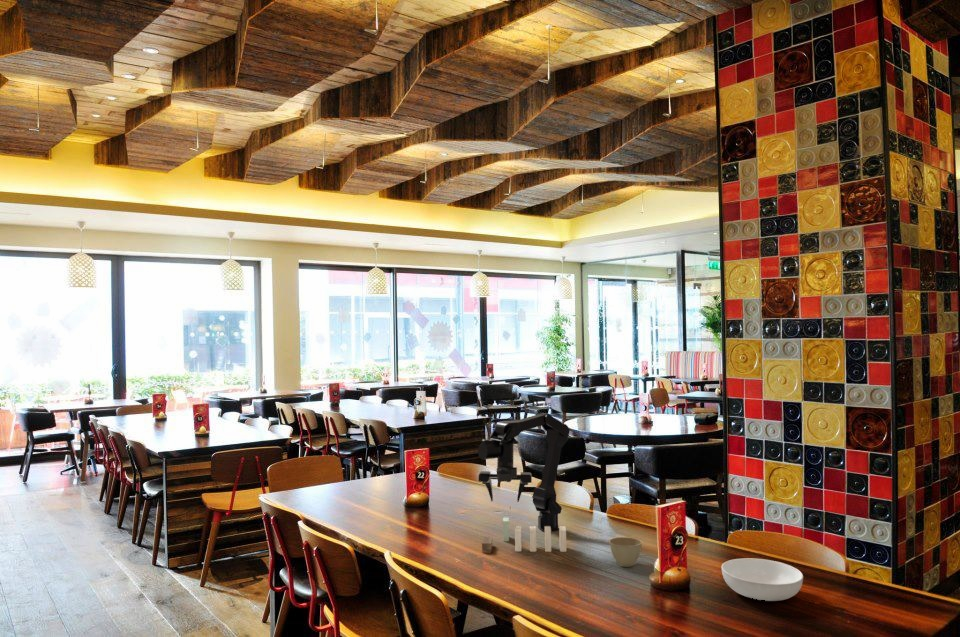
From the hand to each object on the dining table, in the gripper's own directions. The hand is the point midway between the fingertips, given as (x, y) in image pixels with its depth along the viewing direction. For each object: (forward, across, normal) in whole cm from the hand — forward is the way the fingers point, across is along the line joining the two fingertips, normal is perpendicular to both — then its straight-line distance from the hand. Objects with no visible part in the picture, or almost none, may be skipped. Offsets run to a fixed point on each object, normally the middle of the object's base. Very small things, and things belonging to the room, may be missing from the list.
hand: (505, 501), depth 251 cm
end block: (+14, -5, -11) cm, 18 cm away
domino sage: (+13, 0, 0) cm, 13 cm away
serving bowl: (+13, +73, -50) cm, 90 cm away
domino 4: (+13, +20, -11) cm, 26 cm away
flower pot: (+13, +39, -26) cm, 49 cm away
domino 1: (+13, +5, -11) cm, 18 cm away
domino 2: (+13, +10, -11) cm, 20 cm away
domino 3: (+13, +15, -11) cm, 23 cm away
